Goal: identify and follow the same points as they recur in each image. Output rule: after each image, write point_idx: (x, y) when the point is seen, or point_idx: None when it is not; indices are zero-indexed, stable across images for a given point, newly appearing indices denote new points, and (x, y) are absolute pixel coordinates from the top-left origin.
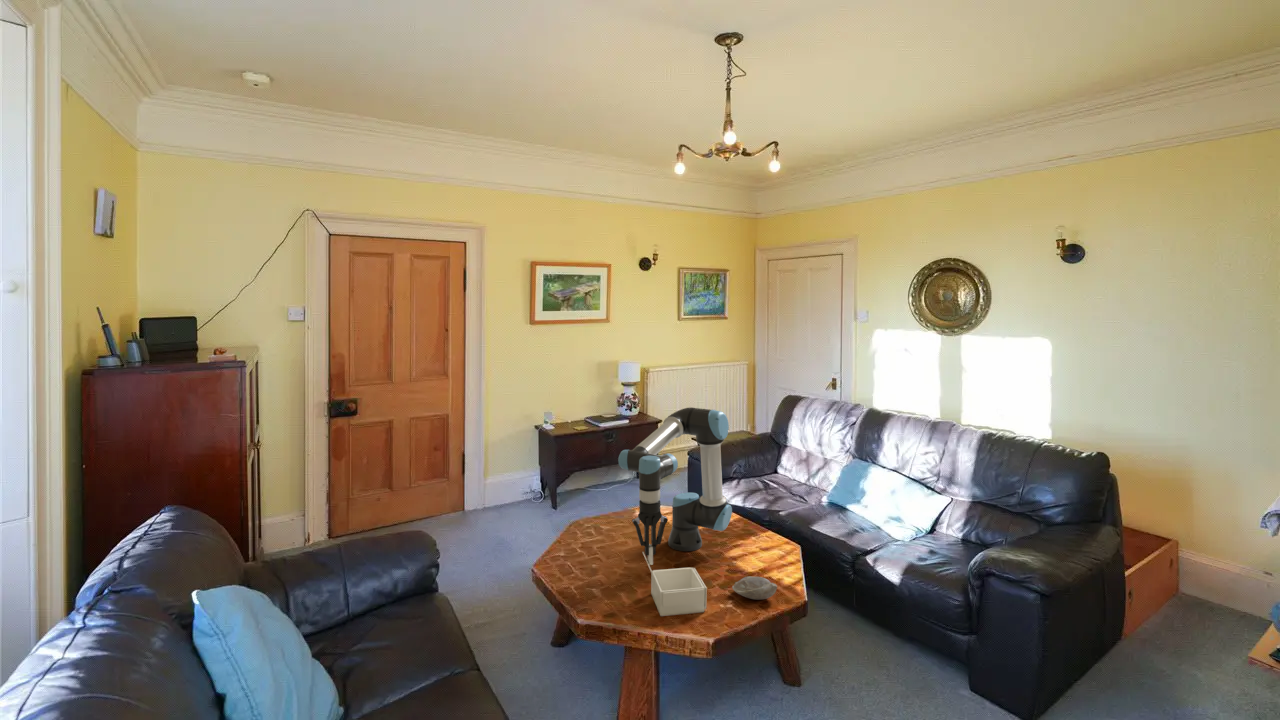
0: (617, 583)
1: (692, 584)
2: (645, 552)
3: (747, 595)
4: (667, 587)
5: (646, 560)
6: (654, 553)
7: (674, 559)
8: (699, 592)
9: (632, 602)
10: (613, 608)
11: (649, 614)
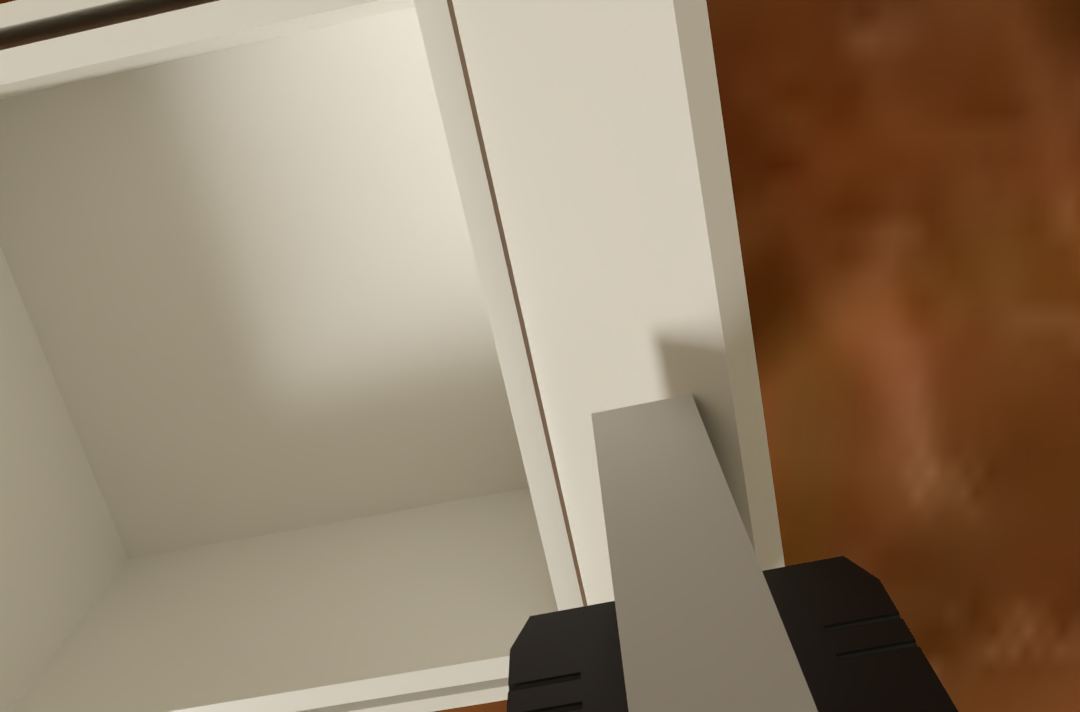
0: (955, 683)
1: (67, 563)
2: (899, 637)
3: None
4: (388, 537)
5: (771, 539)
6: (553, 637)
7: None
8: None
9: (815, 295)
10: (1064, 149)
11: None
